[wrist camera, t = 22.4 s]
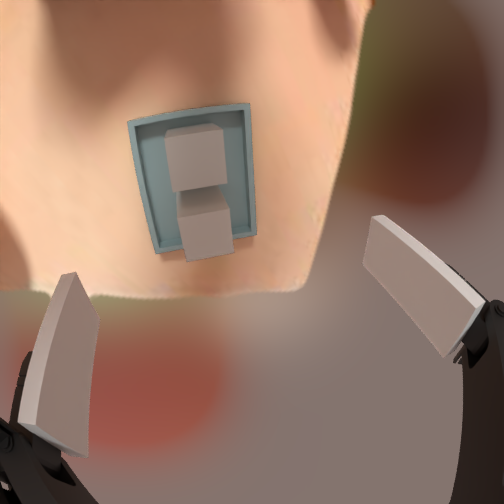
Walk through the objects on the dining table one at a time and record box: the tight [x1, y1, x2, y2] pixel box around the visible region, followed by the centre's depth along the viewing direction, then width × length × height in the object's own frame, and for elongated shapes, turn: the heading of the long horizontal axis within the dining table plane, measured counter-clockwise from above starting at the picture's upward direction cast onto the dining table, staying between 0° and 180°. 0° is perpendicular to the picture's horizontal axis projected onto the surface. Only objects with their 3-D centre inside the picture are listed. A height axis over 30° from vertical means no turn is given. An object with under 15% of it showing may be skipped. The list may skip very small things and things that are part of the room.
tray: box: [127, 103, 257, 254], centre depth 36 cm, size 16×20×3 cm
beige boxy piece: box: [176, 185, 234, 262], centre depth 35 cm, size 6×6×9 cm
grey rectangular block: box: [164, 123, 227, 193], centre depth 30 cm, size 6×6×9 cm
